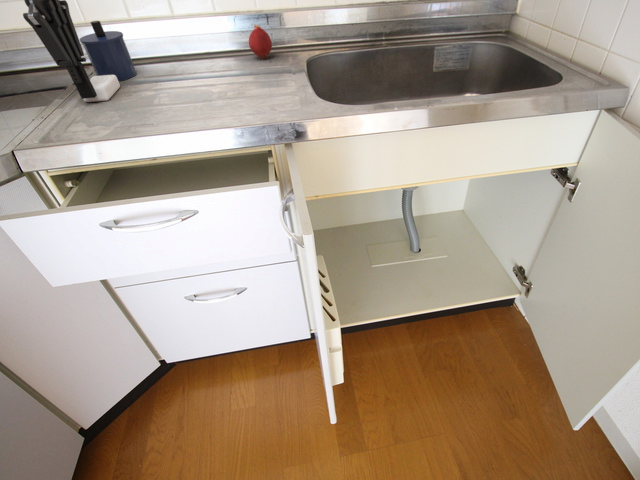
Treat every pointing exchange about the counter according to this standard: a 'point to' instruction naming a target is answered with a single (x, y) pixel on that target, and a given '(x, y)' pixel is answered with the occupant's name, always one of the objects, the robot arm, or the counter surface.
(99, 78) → the soap
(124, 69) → the pot
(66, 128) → the counter surface
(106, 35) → the pot lid
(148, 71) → the counter surface
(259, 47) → the onion
